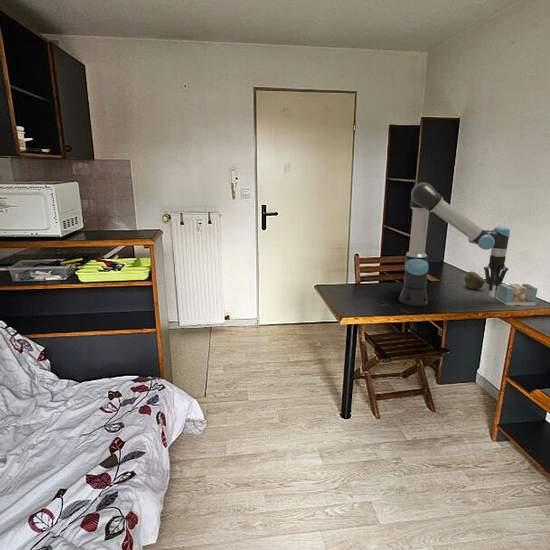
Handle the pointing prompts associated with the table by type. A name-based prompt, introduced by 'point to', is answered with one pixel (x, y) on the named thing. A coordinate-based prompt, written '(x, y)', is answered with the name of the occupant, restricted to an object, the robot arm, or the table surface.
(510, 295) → the jaw
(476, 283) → the rock
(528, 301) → the vise
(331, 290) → the table surface
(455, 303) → the table surface
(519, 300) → the block
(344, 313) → the table surface
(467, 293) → the table surface
